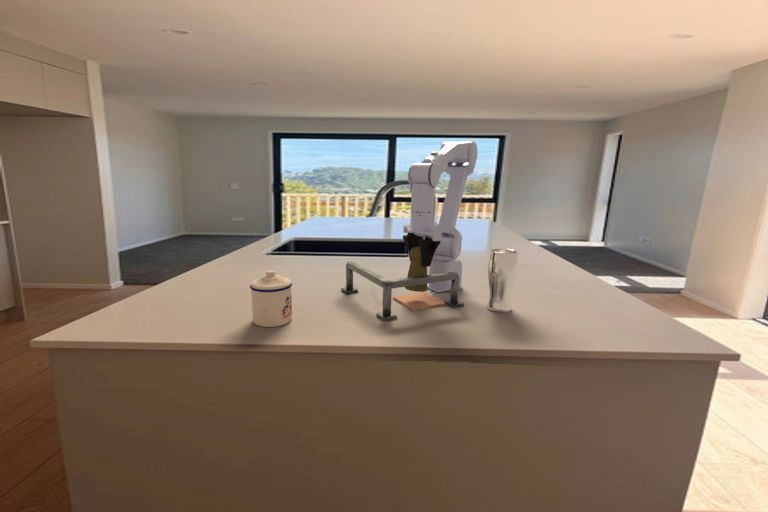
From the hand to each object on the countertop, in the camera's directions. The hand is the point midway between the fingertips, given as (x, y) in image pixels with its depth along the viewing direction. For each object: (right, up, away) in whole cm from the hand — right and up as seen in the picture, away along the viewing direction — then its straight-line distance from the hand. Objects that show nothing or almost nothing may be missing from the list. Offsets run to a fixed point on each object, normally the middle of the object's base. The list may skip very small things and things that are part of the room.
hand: (420, 264), depth 102 cm
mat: (0, -10, +2) cm, 10 cm away
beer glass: (+20, -12, -1) cm, 23 cm away
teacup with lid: (-35, -13, -11) cm, 39 cm away
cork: (-1, -7, +1) cm, 7 cm away
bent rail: (-5, -9, +5) cm, 12 cm away
